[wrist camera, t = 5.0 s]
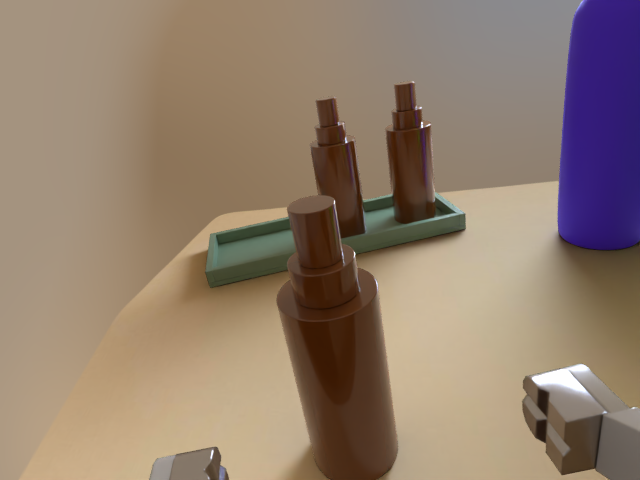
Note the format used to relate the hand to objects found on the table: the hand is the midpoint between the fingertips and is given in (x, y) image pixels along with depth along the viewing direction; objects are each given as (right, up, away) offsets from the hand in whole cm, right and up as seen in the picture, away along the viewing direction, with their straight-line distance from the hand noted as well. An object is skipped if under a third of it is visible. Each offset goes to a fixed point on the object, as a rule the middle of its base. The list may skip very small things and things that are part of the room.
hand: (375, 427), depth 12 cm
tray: (0, +5, +47) cm, 47 cm away
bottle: (+29, +5, +37) cm, 47 cm away
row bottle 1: (+2, +6, +47) cm, 47 cm away
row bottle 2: (+11, +8, +47) cm, 49 cm away
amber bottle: (+1, -9, +17) cm, 19 cm away
